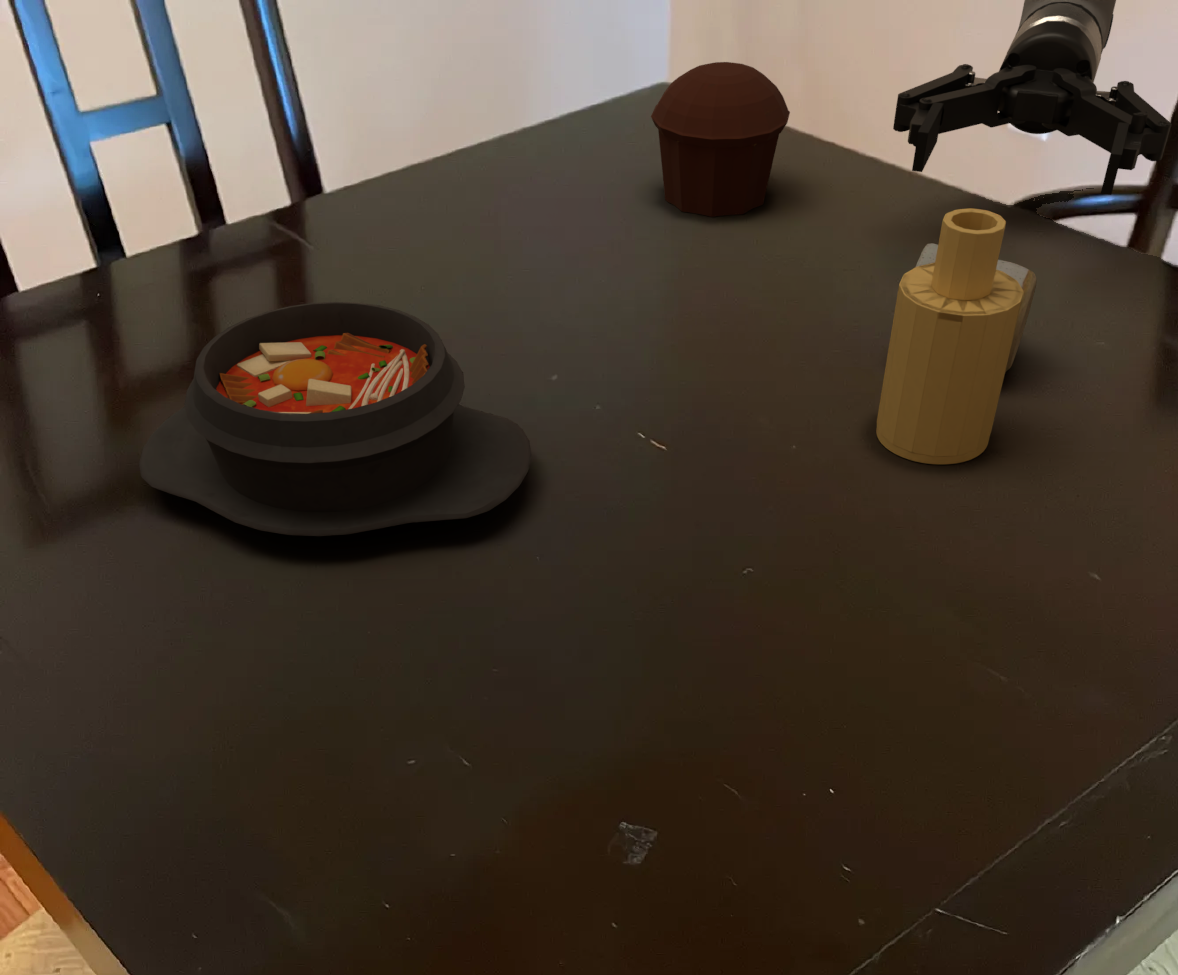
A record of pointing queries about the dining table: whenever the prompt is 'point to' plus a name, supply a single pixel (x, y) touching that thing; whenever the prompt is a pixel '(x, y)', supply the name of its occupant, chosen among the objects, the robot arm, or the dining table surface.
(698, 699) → the dining table surface
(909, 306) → the bottle
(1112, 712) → the dining table surface
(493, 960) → the dining table surface
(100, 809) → the dining table surface
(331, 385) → the casserole
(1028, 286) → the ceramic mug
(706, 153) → the muffin
